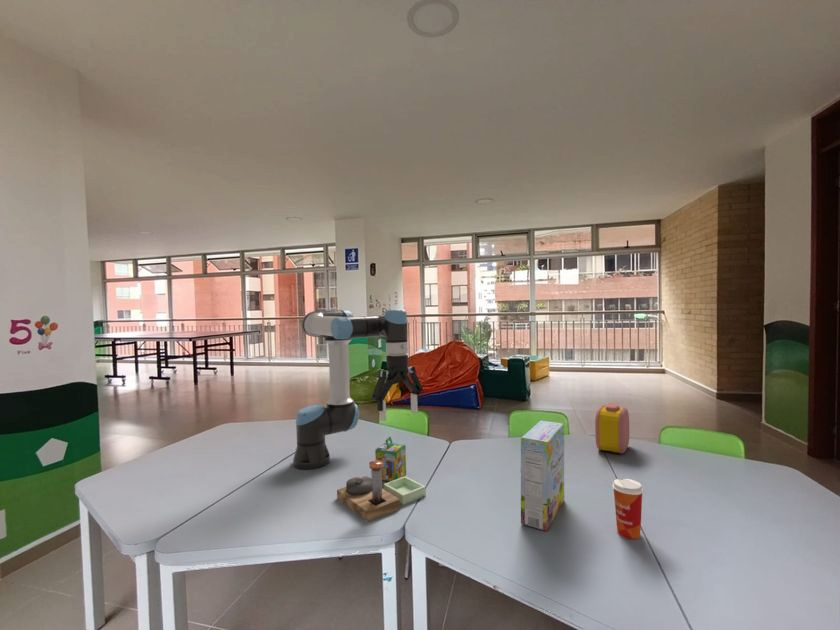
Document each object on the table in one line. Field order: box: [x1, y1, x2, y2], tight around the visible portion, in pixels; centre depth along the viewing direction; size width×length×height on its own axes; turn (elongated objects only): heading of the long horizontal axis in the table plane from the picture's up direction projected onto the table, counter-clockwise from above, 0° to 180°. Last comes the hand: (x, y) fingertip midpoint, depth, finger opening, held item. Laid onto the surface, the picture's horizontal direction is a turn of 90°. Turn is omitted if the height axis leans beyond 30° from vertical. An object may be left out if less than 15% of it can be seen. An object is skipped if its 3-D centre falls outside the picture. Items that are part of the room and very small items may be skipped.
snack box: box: [520, 420, 565, 532], centre depth 122 cm, size 22×9×26 cm, turn 148°
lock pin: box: [368, 459, 383, 506], centre depth 126 cm, size 4×4×15 cm
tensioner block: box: [336, 475, 401, 523], centre depth 130 cm, size 20×12×7 cm, turn 39°
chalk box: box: [374, 436, 407, 482], centre depth 151 cm, size 9×9×15 cm
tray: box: [382, 475, 427, 505], centre depth 136 cm, size 12×10×3 cm
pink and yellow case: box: [594, 402, 630, 455], centre depth 174 cm, size 18×11×19 cm, turn 144°
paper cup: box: [612, 478, 645, 540], centre depth 109 cm, size 8×8×14 cm
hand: (399, 416), depth 135 cm, fingers open, 13 cm apart
